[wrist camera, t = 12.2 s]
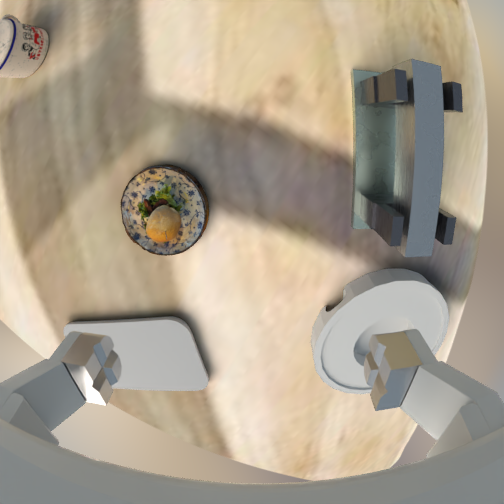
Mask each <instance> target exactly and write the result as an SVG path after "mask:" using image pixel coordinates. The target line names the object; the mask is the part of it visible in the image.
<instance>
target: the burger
mask: <svg viewBox="0 0 504 504" xmlns="http://www.w3.org/2000/svg"><path fill="white" fill-rule="evenodd" d="M180 169H181V168H179V167H176V166H173V165H160V166H152V167H148V168H145V169H144V170H142V171H141V172H140V173H139V174H137V175H136V176H134V177H133V178H132V179H131V180H130V182H129V183H128V185H127V186H126V188H125V190H124V193H123V196H122V199H121V211H122V220H123V224H124V226H125V231H126V233H127V234H128V236H129V237H130V239H131V240H132V241H133V242H134V243H137V244H138V245H139V246H141V247H142V249H144V250H147V251H148V252H149V253H152V254H157V255H165V256H167V255H175V254H179V253H182V252H184V251H186V250H188V249H189V248H190V247H192V246H193V245H194V244H195V243H196V242H197V241H198V240H199V239H200V237H201V236H202V234H203V232H204V231H205V229H206V226H207V223H208V217H209V206H208V200H207V197H206V194H205V192H204V190H203V188H202V186H201V184H200V183H199V182H198V181H197V179H196V178H195V177H193V176H192V175H191V174H190V173H187V171H184V170H183V169H181V170H180ZM185 172H186V173H185Z"/></svg>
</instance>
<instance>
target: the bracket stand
mask: <svg viewBox="0 0 504 504" xmlns="http://www.w3.org/2000/svg"><path fill="white" fill-rule="evenodd" d="M351 83H352V102H353V148H354V151H353V198H352V218H351V227H352V228H353V229H368V228H371V229H374V230H375V231H376V232H377V233H378V234H379V235H380V236H381V237H382V238H383V239H384V240H385V241H386V242H387V244H388V245H389V246H401V238H402V230H403V222H404V216H403V215H401V214H400V213H398V212H397V211H395V210H394V209H393V195H394V179H395V153H396V115H395V103H398V102H405V101H408V91H407V76H406V71H405V70H400V69H392V70H390V71H387V72H385V73H378V72H370V71H362V70H351ZM442 88H443V108H444V112H463V109H462V90H461V84H459V83H455V82H447V83H442ZM455 222H456V217H454V216H453V215H451V214H449V213H448V212H446V211H444V210H442V209H441V208H439V212H438V219H437V226H436V233H435V238H436V239H437V240H438V241H439V242H441V243H442V244H443V245H446V244H452V240H453V234H454V228H455Z"/></svg>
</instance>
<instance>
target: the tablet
mask: <svg viewBox="0 0 504 504" xmlns="http://www.w3.org/2000/svg"><path fill="white" fill-rule="evenodd" d="M72 331H78V332H86V333H93V334H100V335H107V336H109V337H111V338H112V341H113V343H114V348H113V351H114V352H116V353H117V354H118V355H119V358H120V360H121V365H122V370H121V376H120V378H119V380H118V382H117V383H115V384H114V385H112V388H120V389H135V390H160V391H198V390H202V389H204V388H205V387H206V386H207V385H208V382H209V377H208V374H207V371H206V369H205V366H204V364H203V361H202V358H201V356H200V353H199V350H198V348H197V345H196V342H195V340H194V337H193V334H192V332H191V330H190V328H189V326H188V325H187V323H186V322H185V321H183V320H182V319H180V318H178V317H174V316H166V317H153V318H138V319H122V320H102V321H76V322H70V323H68V324H67V325H66V326H65V327H64V335H65V337H66V336H67V335H68V334H69V333H70V332H72Z"/></svg>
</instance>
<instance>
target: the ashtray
mask: <svg viewBox="0 0 504 504" xmlns="http://www.w3.org/2000/svg"><path fill="white" fill-rule="evenodd" d="M448 322H449V314H448V307H447V304H446V302H445V300H444V298H443V297H442V295H441V293H440V292H439V291H438V290H437V289H436V288H435V287H434V286H433V285H432V284H431V283H430V282H428V281H427V280H426V278H425V277H424V276H422V275H421V274H420V273H417V272H414V271H411V270H407V269H383V270H379V271H376V272H372V273H368V274H366V275H364V276H362V277H360V278H358V279H356V280H354V281H352V282H350V283H348V284H347V285H346V286H345V287H344V289H343V300H342V302H340V303H339V304H338V305H337V306H336V307H335V308H334V309H332V310H331V311H329V312H327V311H326V306H324V307H323V308H322V310H321V311H320V313H319V315H318V317H317V319H316V321H315V323H314V326H313V329H312V336H311V347H312V353H313V358H314V363H315V368H316V371H317V373H318V374H319V376H320V377H321V379H322V380H323V382H325V383H326V384H328V385H329V386H330V387H332V388H333V389H336V390H339V391H342V392H345V393H353V394H366V393H371V391H372V388H371V387H370V386H369V385H367V383H366V380H365V376H364V362H365V357H366V355H367V354H368V353H369V352H370V351H371V350H370V348H369V341H370V338H371V336H372V335H375V334H384V333H392V332H399V331H404V330H410V329H417V330H419V332H420V333H421V335H422V337H423V338H424V340H425V341H426V343H427V345H428V346H429V348H430V349H431V351H432V353H433V354H434V355H435V354H436V352H437V351H438V350H439V348H440V347H441V345H442V342H443V340H444V338H445V335H446V333H447V328H448Z"/></svg>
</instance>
